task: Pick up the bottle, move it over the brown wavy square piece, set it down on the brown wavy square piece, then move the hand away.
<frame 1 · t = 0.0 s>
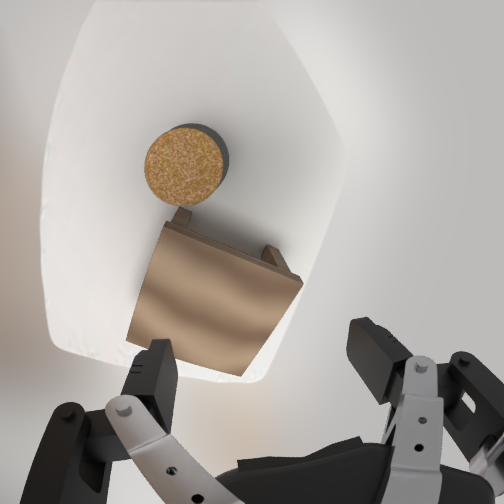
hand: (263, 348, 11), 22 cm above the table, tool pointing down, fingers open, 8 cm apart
brown wavy square piece: (208, 274, 34), on the table
bottle: (199, 154, 29), on the table
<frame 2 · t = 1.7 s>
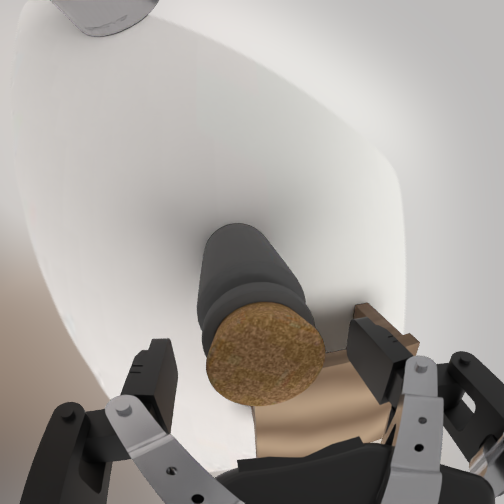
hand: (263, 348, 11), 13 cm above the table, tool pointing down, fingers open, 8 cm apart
brown wavy square piece: (307, 362, 29), on the table
bottle: (237, 255, 24), on the table
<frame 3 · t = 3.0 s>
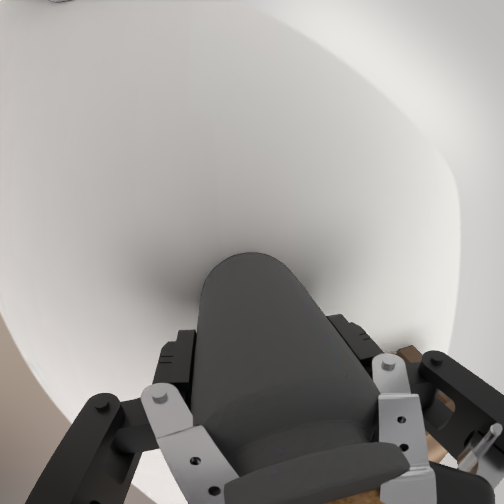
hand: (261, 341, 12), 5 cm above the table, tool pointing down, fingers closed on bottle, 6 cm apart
brown wavy square piece: (334, 417, 20), on the table
bottle: (249, 297, 16), on the table, touching gripper
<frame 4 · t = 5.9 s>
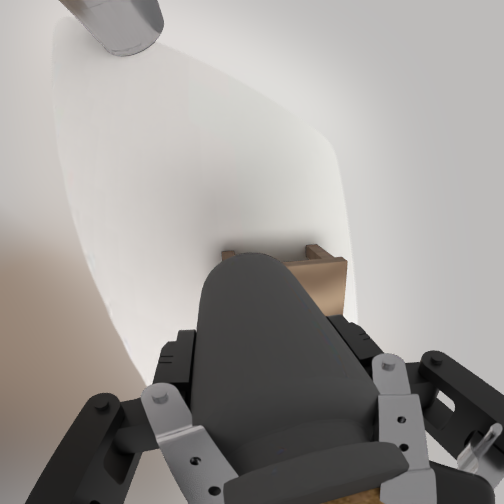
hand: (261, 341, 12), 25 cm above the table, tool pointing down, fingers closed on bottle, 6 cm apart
brown wavy square piece: (271, 292, 39), on the table
bottle: (249, 297, 16), point 20 cm above the table, touching gripper
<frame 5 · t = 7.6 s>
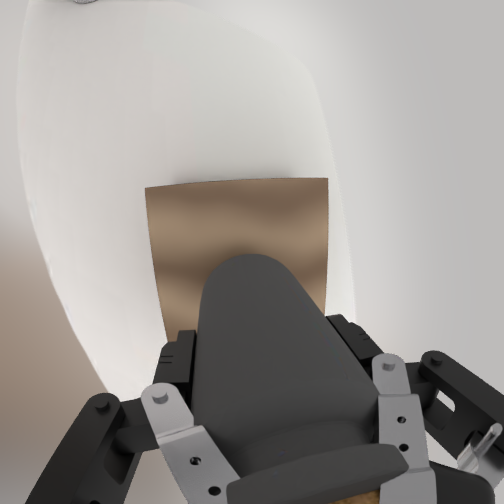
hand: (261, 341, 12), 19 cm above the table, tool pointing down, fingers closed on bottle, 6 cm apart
brown wavy square piece: (235, 244, 30), on the table
bottle: (249, 298, 16), point 14 cm above the table, touching gripper
when the fingers open (15 cm above the table, at t = 8.9 s): bottle drops 1 cm, resting on brown wavy square piece.
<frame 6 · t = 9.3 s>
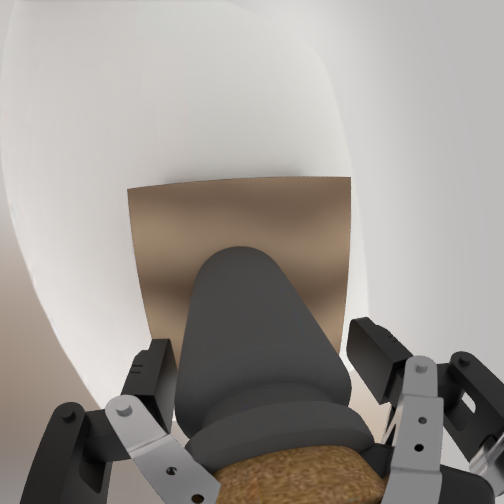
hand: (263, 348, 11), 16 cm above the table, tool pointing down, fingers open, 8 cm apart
brown wavy square piece: (237, 252, 26), on the table
bottle: (239, 288, 18), point 9 cm above the table, touching brown wavy square piece
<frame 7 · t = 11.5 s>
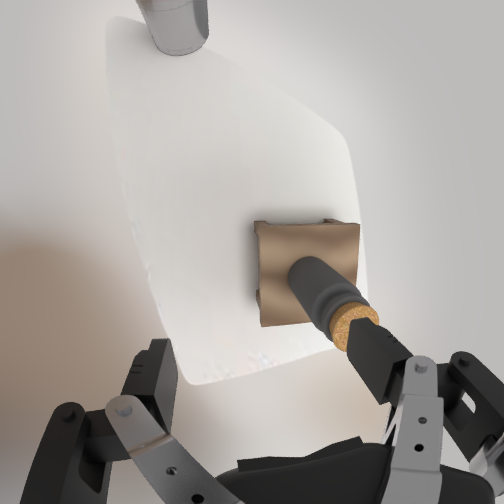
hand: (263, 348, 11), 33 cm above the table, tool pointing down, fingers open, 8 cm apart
brown wavy square piece: (294, 259, 45), on the table
bottle: (307, 276, 37), point 9 cm above the table, touching brown wavy square piece
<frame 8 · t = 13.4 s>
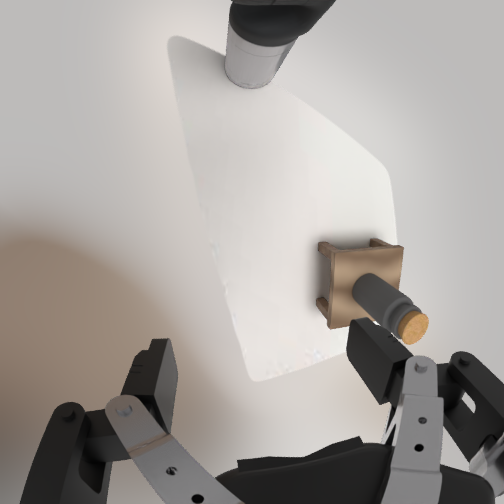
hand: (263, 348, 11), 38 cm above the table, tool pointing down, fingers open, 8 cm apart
brown wavy square piece: (347, 272, 53), on the table
bottle: (365, 288, 45), point 9 cm above the table, touching brown wavy square piece
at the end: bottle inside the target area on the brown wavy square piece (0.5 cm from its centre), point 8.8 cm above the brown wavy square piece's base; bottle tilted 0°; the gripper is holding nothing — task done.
